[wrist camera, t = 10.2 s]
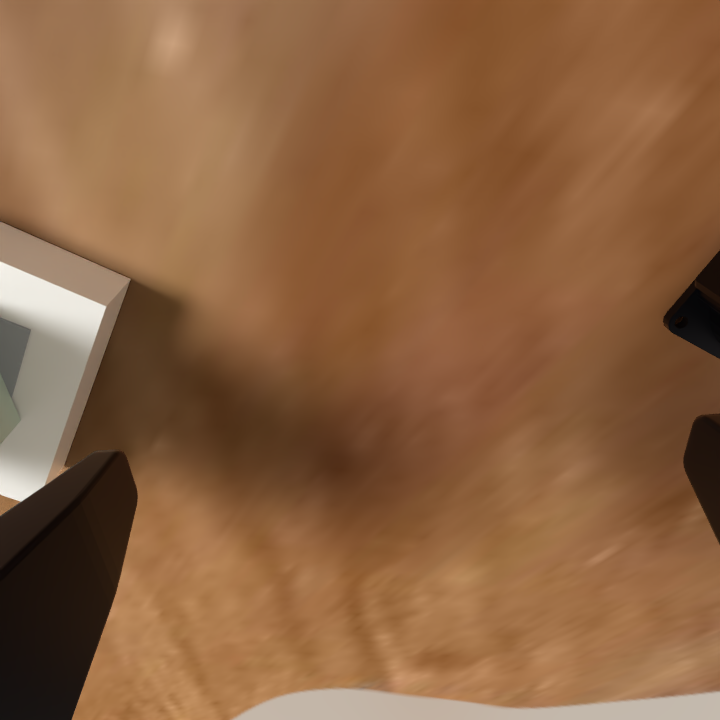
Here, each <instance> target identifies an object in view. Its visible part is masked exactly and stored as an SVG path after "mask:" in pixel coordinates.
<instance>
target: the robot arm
mask: <svg viewBox="0 0 720 720" xmlns="http://www.w3.org/2000/svg"><path fill="white" fill-rule="evenodd" d="M682 316H683V318H682V320H681V321H680V322H679V323H677V324H675V321H676V320H677V319H678V318H679V317H682ZM663 323H664V326H665V327H666V328H668V329H669V330H670V331H671V332H672V333H674V334H675V335H677V336H679V337H681V338H683V339H685V340H686V341H688V342H690V343H692V344H694V345H695V346H697V347H699V348H701V349H703V350H705V351H706V352H708V353H710V354H712V355H714V356H716V357H717V358H719V359H720V251H719V252H718V253H717V254H716V255H715V256H714V258H713V259H712V260H711V261H710V262H709V263H708V265H707V266H706V267H705V268H704V269H703V270H702V272H701V273H700V274H699V275H698V276H697V277H696V279H695V280H694V281H693V283H692V284H691V285H690V286H689V287H688V288H687V290H686V291H685V292H684V293H683V294H682V295H681V296H680V298H679V299H678V300H677V301H676V302H675V303H674V305H673V306H672V307H671V308H670V309H669V310H668V312H667V313H666V315H665V316H664V320H663ZM683 463H684V468H685V472H686V474H687V476H688V478H689V481H690V483H691V485H692V487H693V489H694V491H695V493H696V495H697V498H698V500H699V502H700V504H701V506H702V508H703V510H704V512H705V515H706V517H707V519H708V521H709V523H710V525H711V527H712V529H713V532H714V534H715V536H716V538H717V540H718V542H719V544H720V414H708V415H700V416H698V417H697V418H696V419H695V420H694V422H693V425H692V428H691V432H690V435H689V439H688V442H687V446H686V450H685V453H684V459H683ZM137 499H138V495H137V488H136V485H135V482H134V479H133V476H132V473H131V469H130V466H129V463H128V460H127V457H126V455H125V454H124V452H122V451H121V450H102V451H95V452H93V453H91V454H90V455H88V456H87V457H86V458H84V459H83V460H81V461H80V462H78V463H77V464H75V465H74V466H72V467H71V468H70V469H68V470H67V471H65V472H64V473H62V474H61V475H59V476H58V477H56V478H55V479H53V480H52V481H51V482H49V483H48V484H46V485H45V486H43V487H42V488H40V489H39V490H37V491H36V492H34V493H33V494H32V495H30V496H29V497H27V498H26V499H24V500H23V501H21V502H20V503H18V504H17V505H15V506H14V507H13V508H11V509H10V510H8V511H7V512H5V513H4V514H2V515H1V516H0V720H72V717H73V714H74V711H75V708H76V706H77V703H78V700H79V697H80V694H81V691H82V689H83V686H84V683H85V680H86V677H87V674H88V672H89V669H90V666H91V663H92V660H93V657H94V655H95V652H96V649H97V646H98V643H99V641H100V638H101V635H102V632H103V629H104V626H105V624H106V621H107V618H108V615H109V612H110V609H111V607H112V603H113V600H114V597H115V594H116V591H117V587H118V583H119V580H120V575H121V571H122V567H123V562H124V558H125V554H126V550H127V545H128V541H129V537H130V532H131V528H132V524H133V519H134V515H135V511H136V506H137Z"/></svg>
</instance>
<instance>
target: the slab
mask: <svg viewBox="0 0 720 720" xmlns="http://www.w3.org/2000/svg"><path fill="white" fill-rule="evenodd" d="M130 280H131V279H130V278H127V277H125V276H123V275H120V274H118V273H116V272H114V271H111V270H109V269H107V268H105V267H102V266H100V265H98V264H96V263H93V262H91V261H89V260H86V259H84V258H82V257H80V256H77V255H75V254H73V253H71V252H68V251H66V250H64V249H62V248H59V247H57V246H55V245H52V244H50V243H48V242H46V241H43V240H41V239H39V238H37V237H34V236H32V235H30V234H28V233H25V232H23V231H21V230H18V229H16V228H14V227H12V226H9V225H7V224H5V223H3V222H0V374H1V376H2V378H3V381H4V383H5V385H6V387H7V390H8V392H9V394H10V397H11V399H12V401H13V403H14V406H15V408H16V410H17V413H18V415H19V417H20V419H21V421H20V422H19V423H18V425H17V426H16V427H15V428H14V429H13V430H12V432H11V433H10V434H9V435H8V436H7V438H6V439H5V440H4V441H3V442H2V443H1V445H0V495H3V496H6V497H9V498H12V499H15V500H18V501H23V500H24V499H26V498H27V497H29V496H30V495H32V494H33V493H34V492H36V491H37V490H39V489H40V488H42V487H43V486H45V485H46V484H48V483H49V482H51V481H52V480H53V479H55V478H56V477H57V476H58V475H59V473H60V472H61V470H62V468H63V467H64V464H65V462H66V459H67V456H68V453H69V450H70V448H71V445H72V442H73V439H74V436H75V434H76V431H77V428H78V425H79V422H80V420H81V417H82V414H83V411H84V408H85V406H86V403H87V400H88V397H89V394H90V392H91V389H92V386H93V383H94V380H95V378H96V375H97V372H98V369H99V366H100V364H101V361H102V358H103V355H104V353H105V350H106V347H107V344H108V341H109V339H110V336H111V333H112V330H113V327H114V325H115V322H116V319H117V316H118V313H119V311H120V308H121V305H122V302H123V299H124V297H125V294H126V291H127V288H128V285H129V283H130Z"/></svg>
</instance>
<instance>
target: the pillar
mask: <svg viewBox="0 0 720 720" xmlns="http://www.w3.org/2000/svg"><path fill="white" fill-rule="evenodd" d="M20 421H21V419H20V417H19V415H18V413H17V410H16V408H15V406H14V403H13V401H12V399H11V397H10V394H9V392H8V390H7V387H6V385H5V383H4V381H3V378H2V376H1V374H0V445H1V443H2V442H3V441H4V440H5V439H6V438H7V436H8V435H9V434H10V433H11V432H12V430H13V429H14V428H15V427H16V426H17V425H18V423H19V422H20Z"/></svg>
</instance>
